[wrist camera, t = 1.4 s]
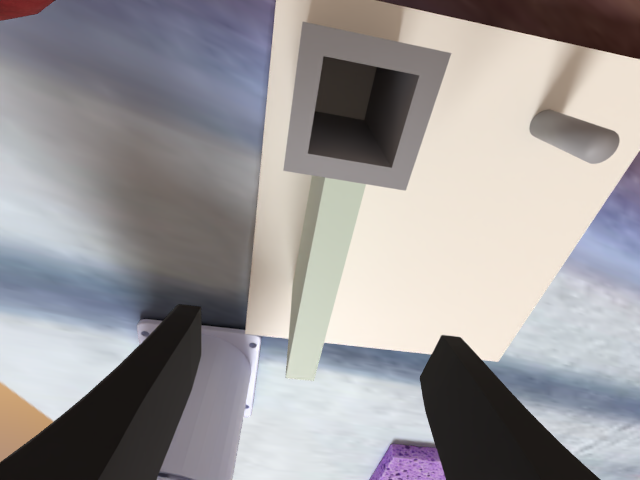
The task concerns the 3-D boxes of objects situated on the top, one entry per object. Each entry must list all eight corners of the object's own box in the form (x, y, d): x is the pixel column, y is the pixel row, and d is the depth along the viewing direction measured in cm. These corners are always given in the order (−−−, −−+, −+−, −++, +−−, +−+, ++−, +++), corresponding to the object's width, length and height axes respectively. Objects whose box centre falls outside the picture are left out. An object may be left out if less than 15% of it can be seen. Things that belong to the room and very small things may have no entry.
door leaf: (333, 292, 20) (341, 383, 15) (271, 284, 19) (256, 375, 14) (397, 44, 13) (451, 53, 8) (306, 24, 13) (302, 21, 8)
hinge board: (488, 344, 25) (525, 410, 20) (248, 316, 23) (234, 383, 18) (660, 67, 15) (795, 82, 11) (281, -17, 13) (267, -39, 9)
